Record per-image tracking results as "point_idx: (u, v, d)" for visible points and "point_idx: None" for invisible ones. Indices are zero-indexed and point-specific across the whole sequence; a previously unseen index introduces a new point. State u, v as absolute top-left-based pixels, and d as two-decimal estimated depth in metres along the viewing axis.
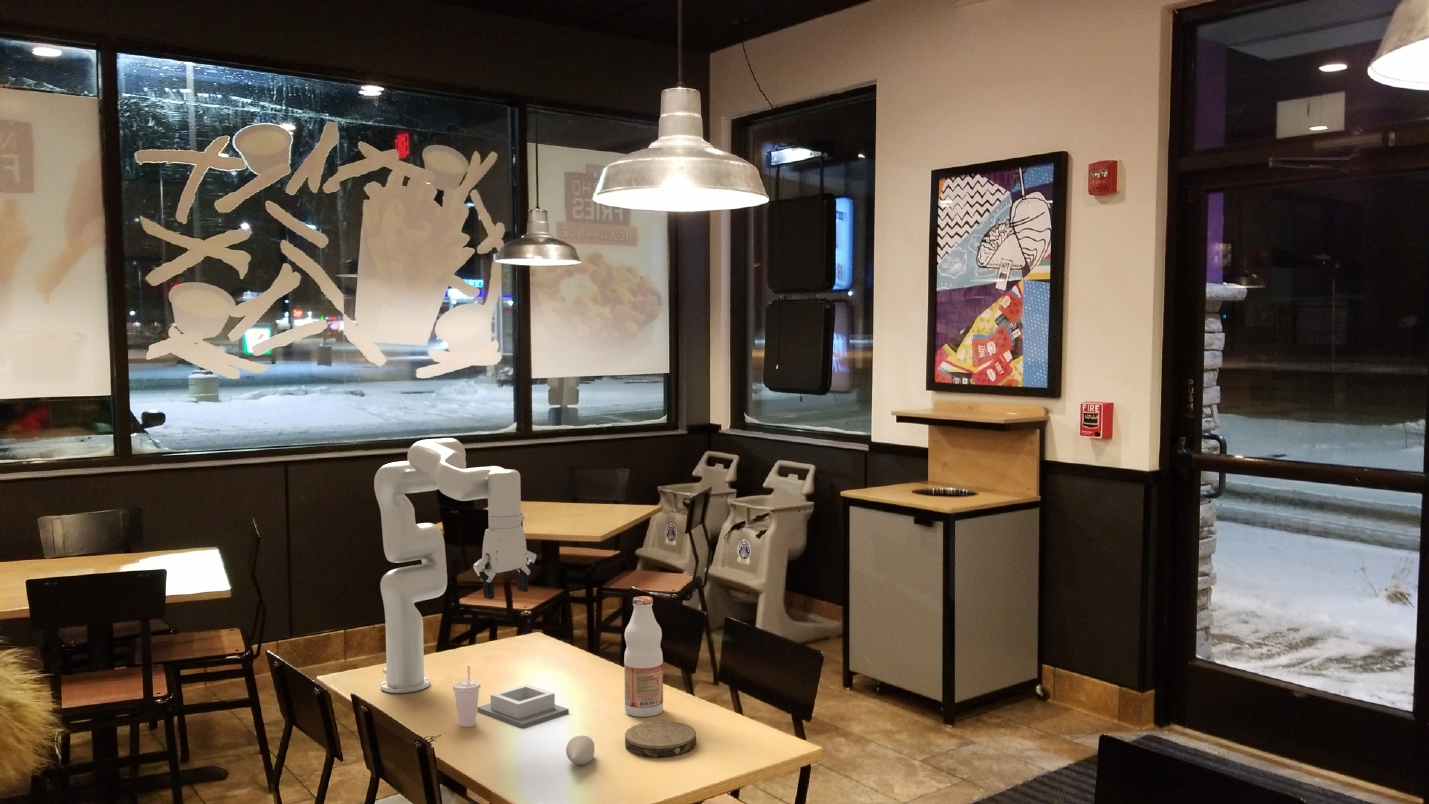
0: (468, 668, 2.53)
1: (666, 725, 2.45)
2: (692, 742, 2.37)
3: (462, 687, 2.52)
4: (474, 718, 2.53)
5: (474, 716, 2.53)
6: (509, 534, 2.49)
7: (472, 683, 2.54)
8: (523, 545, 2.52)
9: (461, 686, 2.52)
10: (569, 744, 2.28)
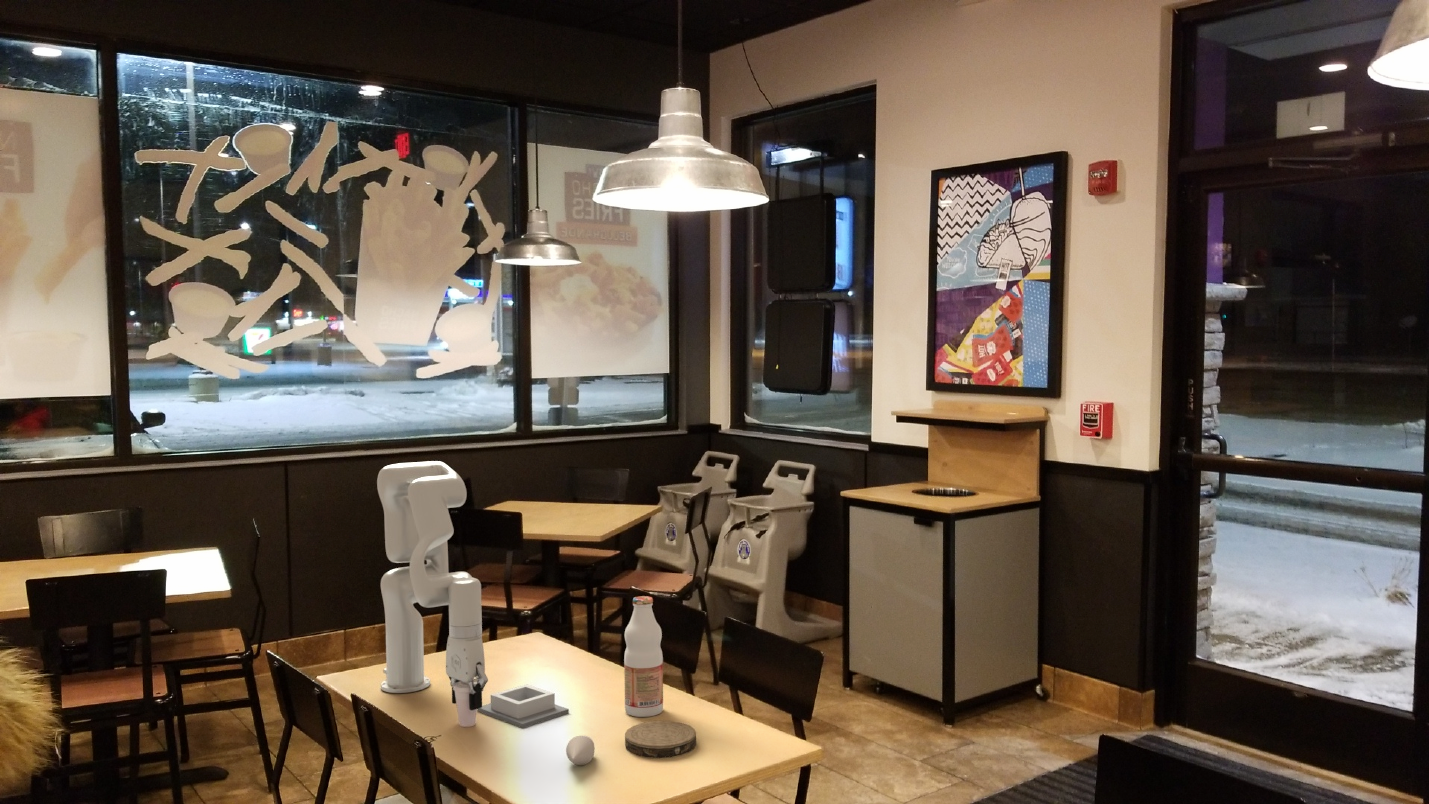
0: None
1: (666, 725, 2.45)
2: (692, 742, 2.37)
3: (462, 687, 2.51)
4: (474, 718, 2.53)
5: (474, 716, 2.53)
6: None
7: None
8: None
9: (461, 686, 2.52)
10: (569, 744, 2.28)
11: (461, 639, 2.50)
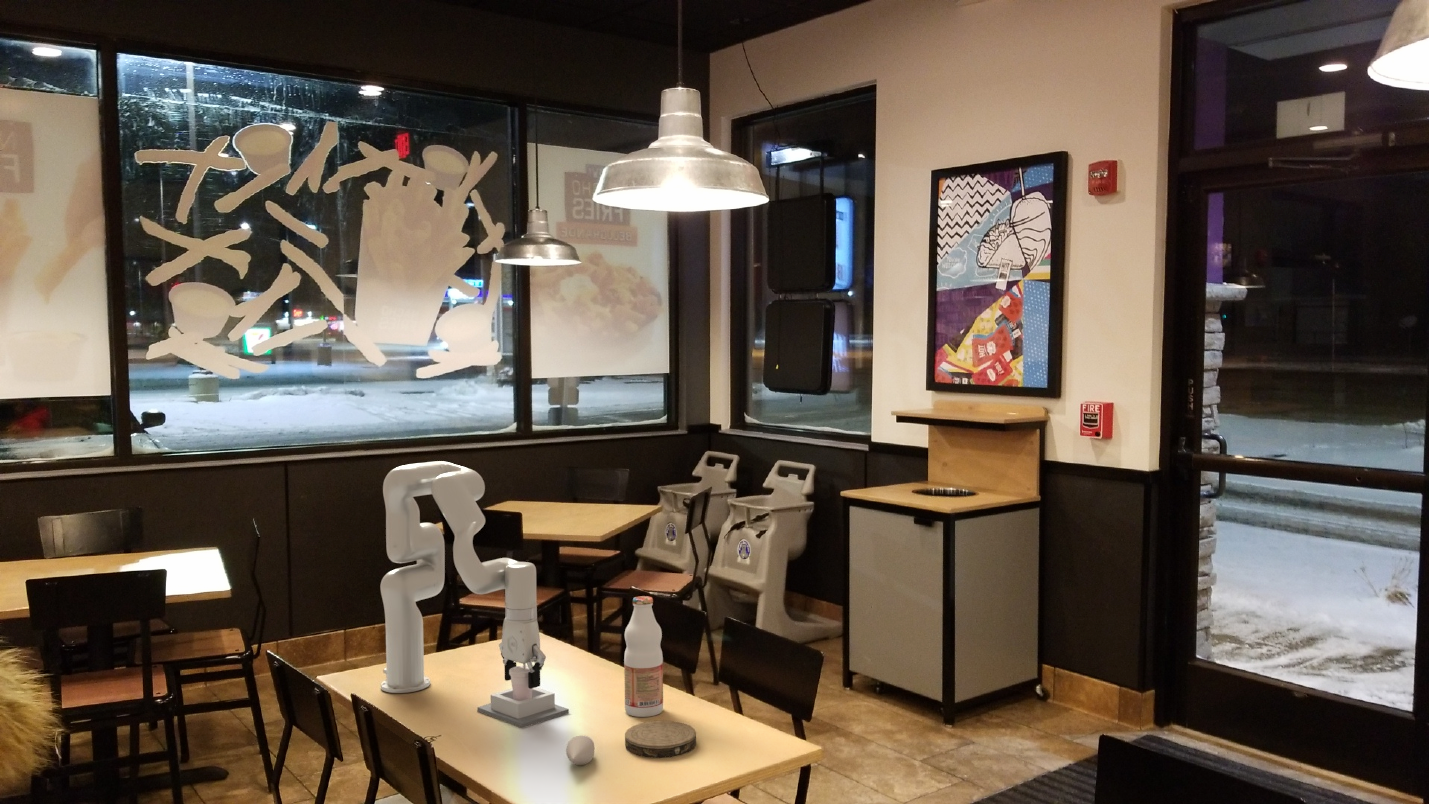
0: None
1: (666, 725, 2.45)
2: (692, 742, 2.37)
3: (518, 672, 2.60)
4: None
5: None
6: None
7: (527, 668, 2.62)
8: None
9: (517, 671, 2.60)
10: (569, 744, 2.28)
11: (518, 621, 2.58)
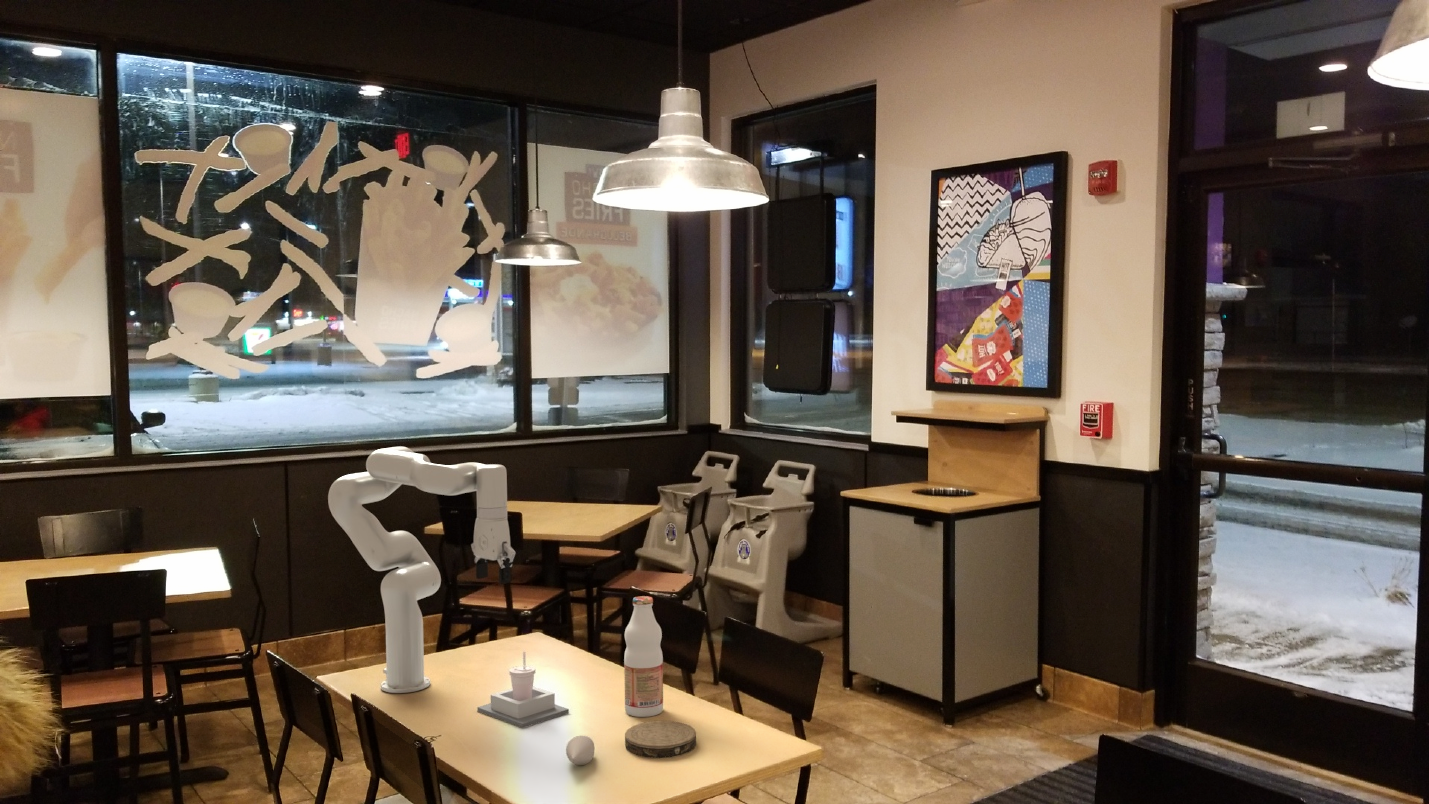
0: (524, 654, 2.61)
1: (666, 725, 2.45)
2: (692, 742, 2.37)
3: (518, 672, 2.60)
4: None
5: None
6: None
7: (527, 668, 2.62)
8: None
9: (517, 671, 2.60)
10: (569, 744, 2.28)
11: (488, 520, 2.68)
